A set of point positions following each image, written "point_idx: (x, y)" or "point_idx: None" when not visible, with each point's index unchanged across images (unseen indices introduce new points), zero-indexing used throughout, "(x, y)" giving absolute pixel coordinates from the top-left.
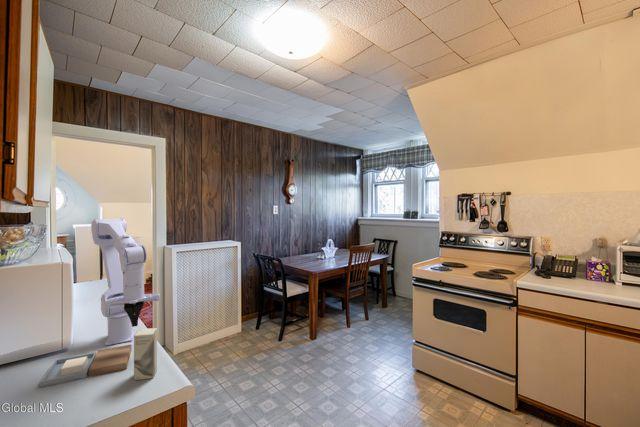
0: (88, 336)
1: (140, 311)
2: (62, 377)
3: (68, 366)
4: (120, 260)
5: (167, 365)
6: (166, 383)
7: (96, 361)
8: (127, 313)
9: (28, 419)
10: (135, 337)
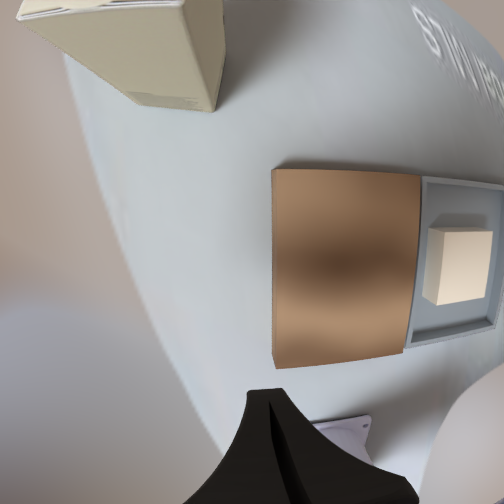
0: (404, 471)
1: (210, 478)
2: (477, 182)
3: (479, 239)
4: None
5: (95, 131)
6: None
7: (405, 246)
8: (356, 460)
9: (469, 28)
10: None
